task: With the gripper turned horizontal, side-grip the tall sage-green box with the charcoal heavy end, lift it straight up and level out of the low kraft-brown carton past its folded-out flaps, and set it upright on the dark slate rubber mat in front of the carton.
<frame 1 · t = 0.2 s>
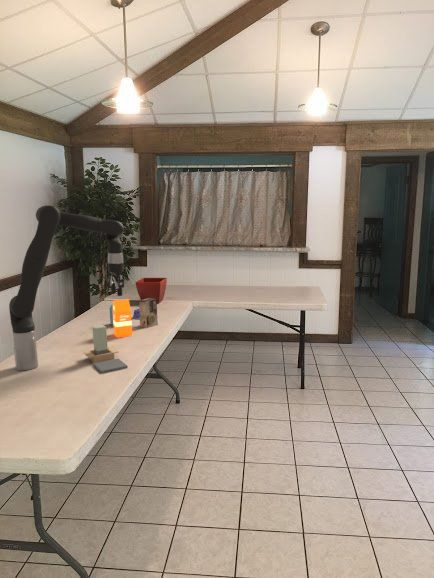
hand: (116, 294, 227), 28 cm above the table, tool pointing down, fingers open, 8 cm apart
slate mat: (110, 366, 209), on the table
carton: (101, 358, 219), on the table
pudding: (139, 317, 298), on the table
data package: (120, 324, 282), on the table
orange juice: (123, 335, 259), on the table
plant pot: (152, 302, 344), on the table
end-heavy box: (100, 342, 218), in the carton
coffee box: (148, 325, 278), on the table
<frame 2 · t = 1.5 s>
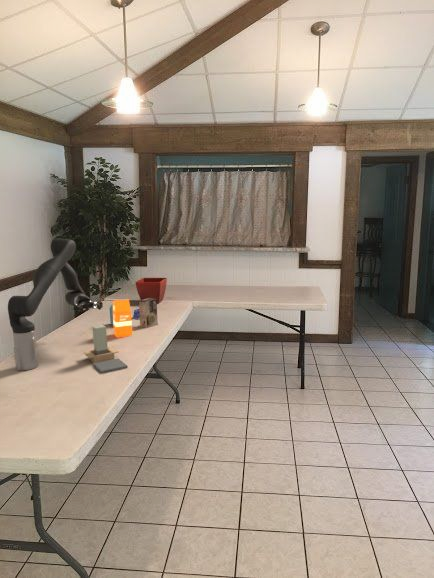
hand: (91, 308, 225), 22 cm above the table, tool horizontal, fingers open, 8 cm apart
nothing on the table moved.
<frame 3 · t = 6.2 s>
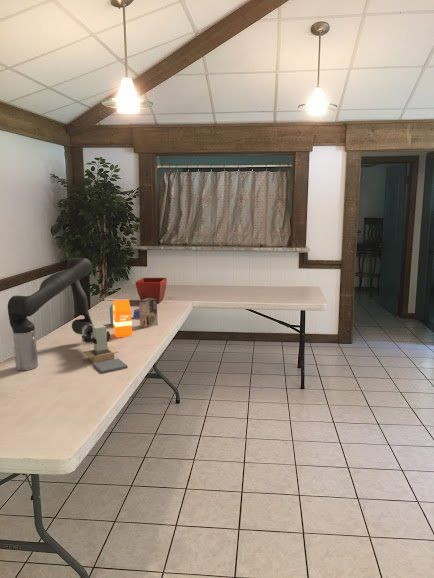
hand: (101, 340, 216), 10 cm above the table, tool horizontal, fingers closed on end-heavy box, 5 cm apart
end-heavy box: (100, 342, 218), in the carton, touching gripper
everything else where it was.
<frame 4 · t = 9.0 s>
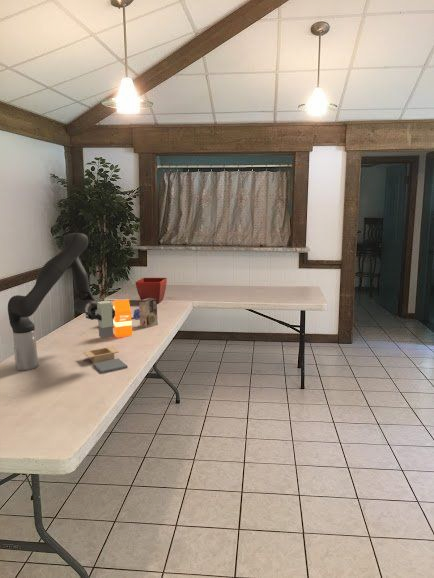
hand: (106, 317, 205), 23 cm above the table, tool horizontal, fingers closed on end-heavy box, 5 cm apart
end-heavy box: (105, 319, 208), point 21 cm above the table, touching gripper
everything else where it was.
when the fingers open (12 cm above the table, at t = 11.9 s): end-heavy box drops 1 cm, resting on slate mat.
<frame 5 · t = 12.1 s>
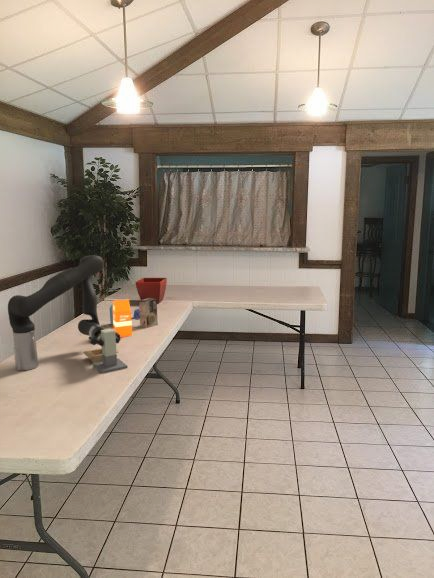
hand: (110, 342, 204), 12 cm above the table, tool horizontal, fingers open, 6 cm apart
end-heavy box: (109, 347, 207), on the slate mat, point 9 cm above the table
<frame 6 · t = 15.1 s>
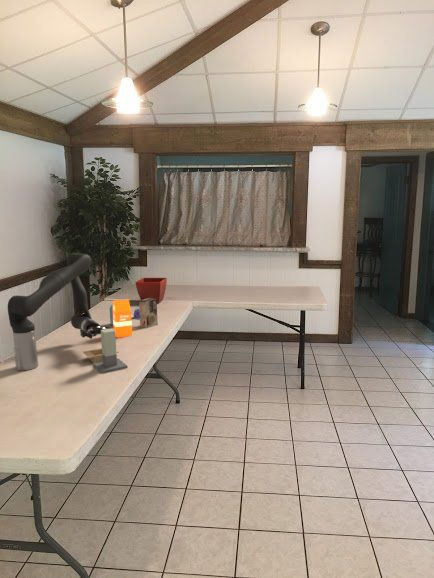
hand: (100, 335, 216), 12 cm above the table, tool horizontal, fingers open, 8 cm apart
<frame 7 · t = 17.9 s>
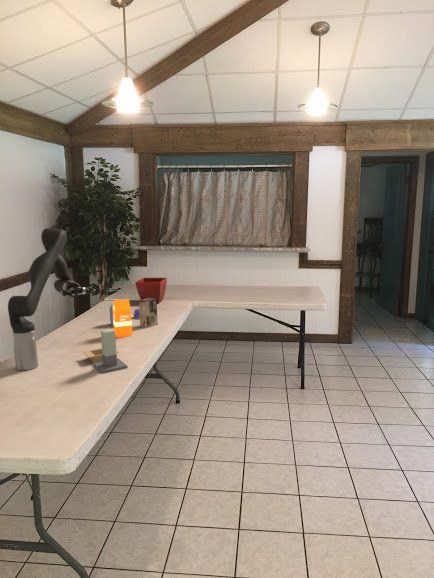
hand: (80, 293, 224), 30 cm above the table, tool horizontal, fingers open, 8 cm apart
at the end: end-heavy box 0.1 cm off-centre on the slate mat, point 9.0 cm above the slate mat's base; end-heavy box tilted 0°; the gripper is holding nothing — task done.
